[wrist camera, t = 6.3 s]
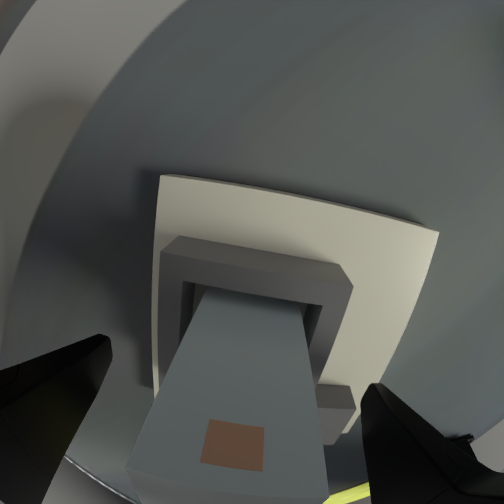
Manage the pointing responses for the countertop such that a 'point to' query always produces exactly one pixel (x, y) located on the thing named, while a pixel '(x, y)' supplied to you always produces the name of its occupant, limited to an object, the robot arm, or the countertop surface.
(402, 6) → the countertop surface
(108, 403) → the countertop surface
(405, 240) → the board
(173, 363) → the plug
